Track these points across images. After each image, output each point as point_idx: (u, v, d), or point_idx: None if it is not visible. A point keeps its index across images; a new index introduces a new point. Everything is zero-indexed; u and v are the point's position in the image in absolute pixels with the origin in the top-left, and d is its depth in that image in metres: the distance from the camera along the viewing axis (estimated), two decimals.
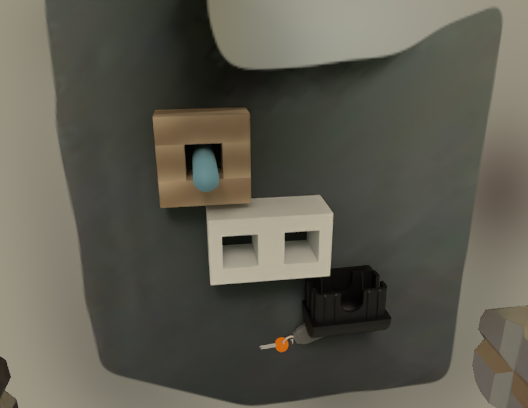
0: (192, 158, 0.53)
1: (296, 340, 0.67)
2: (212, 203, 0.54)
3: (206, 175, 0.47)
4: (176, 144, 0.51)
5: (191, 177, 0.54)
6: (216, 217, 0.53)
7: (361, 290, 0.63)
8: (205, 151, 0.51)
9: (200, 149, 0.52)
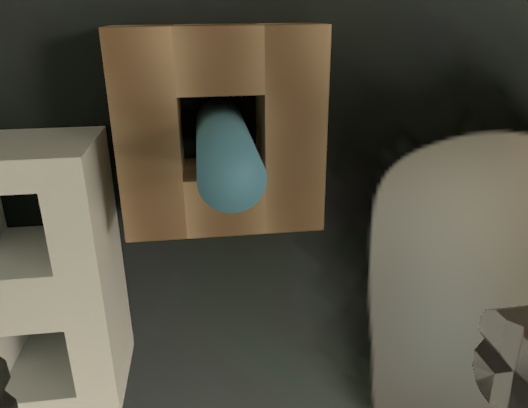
0: (226, 110, 0.23)
1: None
2: (119, 158, 0.22)
3: (243, 181, 0.17)
4: (265, 77, 0.22)
5: (178, 105, 0.23)
6: (88, 175, 0.21)
7: None
8: None
9: None
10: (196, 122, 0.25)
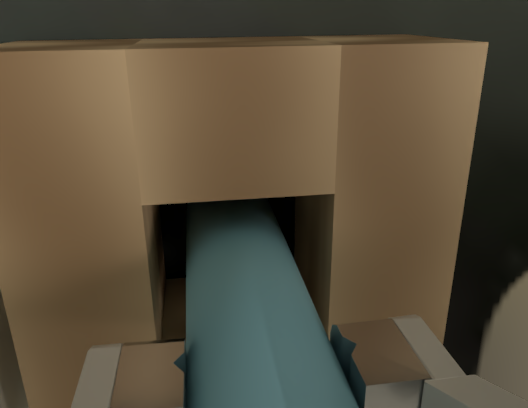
0: (248, 219, 0.11)
1: None
2: (20, 330, 0.10)
3: None
4: (338, 157, 0.10)
5: (148, 211, 0.11)
6: None
7: None
8: None
9: None
10: (186, 228, 0.13)
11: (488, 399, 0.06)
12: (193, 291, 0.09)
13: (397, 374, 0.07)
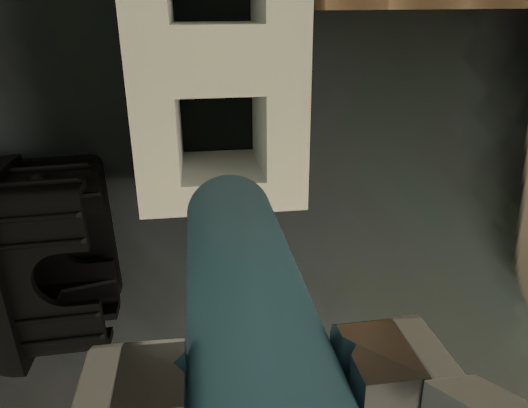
0: (248, 218, 0.11)
1: None
2: None
3: None
4: None
5: None
6: None
7: (69, 287, 0.28)
8: None
9: None
10: (187, 228, 0.13)
11: (488, 399, 0.06)
12: (193, 290, 0.09)
13: (397, 374, 0.07)
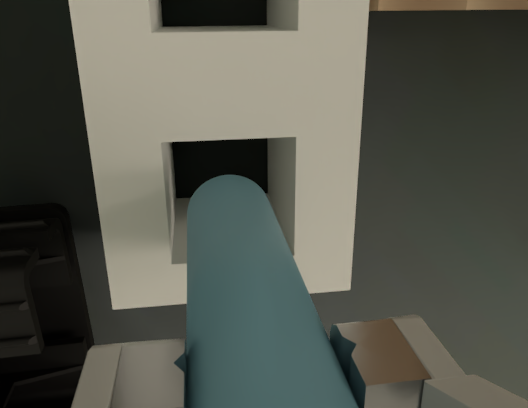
0: (248, 218, 0.11)
1: None
2: None
3: None
4: None
5: None
6: None
7: (25, 379, 0.21)
8: None
9: None
10: (187, 228, 0.13)
11: (488, 399, 0.06)
12: (194, 290, 0.09)
13: (397, 374, 0.07)
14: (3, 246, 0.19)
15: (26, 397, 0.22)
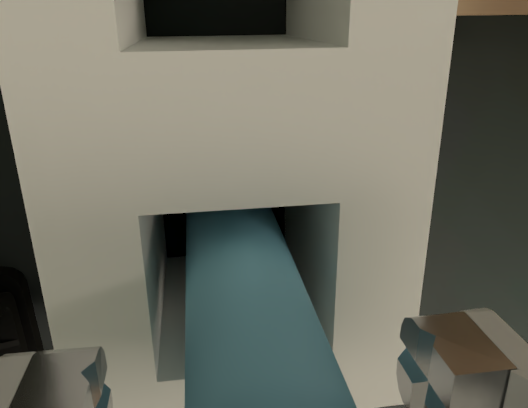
0: None
1: None
2: None
3: None
4: None
5: None
6: None
7: None
8: None
9: None
10: None
11: None
12: (192, 256, 0.11)
13: (482, 365, 0.07)
14: None
15: None
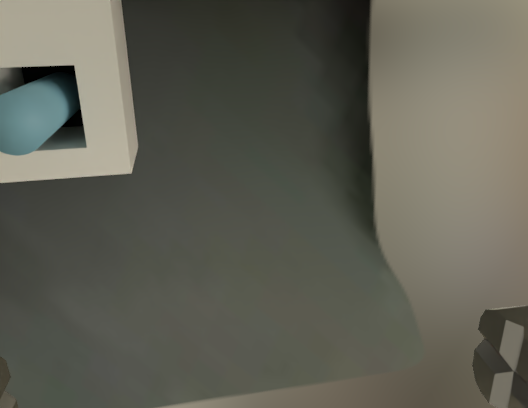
0: (51, 77, 0.26)
1: None
2: None
3: (24, 126, 0.20)
4: None
5: None
6: None
7: None
8: (72, 106, 0.25)
9: (73, 94, 0.26)
10: None
11: None
12: None
13: None
14: None
15: None
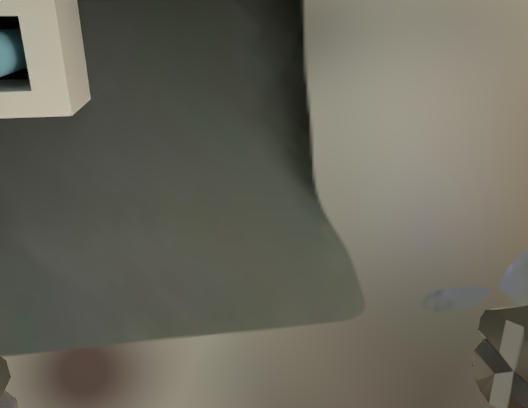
0: (4, 30, 0.29)
1: None
2: None
3: None
4: None
5: None
6: None
7: None
8: (21, 55, 0.29)
9: None
10: None
11: None
12: None
13: None
14: None
15: None
